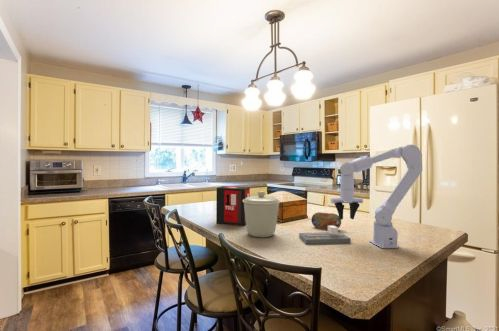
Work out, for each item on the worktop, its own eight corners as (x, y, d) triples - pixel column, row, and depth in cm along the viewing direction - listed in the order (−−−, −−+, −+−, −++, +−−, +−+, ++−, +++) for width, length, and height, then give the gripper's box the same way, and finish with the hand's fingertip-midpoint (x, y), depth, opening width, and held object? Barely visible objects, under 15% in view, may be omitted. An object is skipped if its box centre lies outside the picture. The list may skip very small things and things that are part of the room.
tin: (311, 227, 142) (311, 211, 142) (312, 226, 145) (312, 210, 145) (340, 231, 135) (340, 214, 135) (341, 229, 138) (341, 213, 138)
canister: (278, 241, 117) (278, 194, 117) (238, 238, 121) (238, 192, 120) (281, 230, 135) (281, 189, 135) (246, 228, 139) (246, 188, 138)
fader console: (350, 242, 117) (350, 237, 117) (306, 244, 114) (306, 238, 114) (340, 236, 127) (340, 230, 126) (299, 237, 124) (299, 231, 124)
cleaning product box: (249, 222, 152) (249, 187, 152) (244, 226, 144) (244, 189, 143) (222, 220, 157) (222, 186, 157) (216, 223, 149) (216, 187, 148)
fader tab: (337, 236, 119) (337, 227, 119) (331, 236, 119) (331, 227, 119) (333, 233, 123) (333, 225, 123) (327, 233, 123) (327, 225, 122)
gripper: (357, 188, 126) (357, 216, 126) (328, 188, 124) (327, 217, 124) (365, 189, 119) (365, 220, 119) (334, 189, 117) (334, 220, 117)
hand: (346, 218), depth 121 cm, fingers open, 5 cm apart
